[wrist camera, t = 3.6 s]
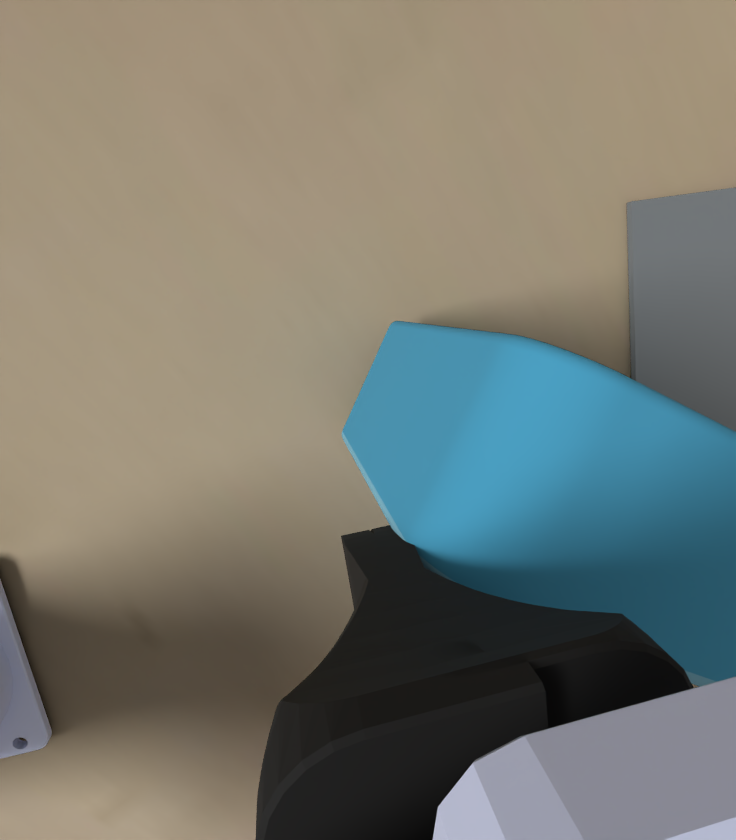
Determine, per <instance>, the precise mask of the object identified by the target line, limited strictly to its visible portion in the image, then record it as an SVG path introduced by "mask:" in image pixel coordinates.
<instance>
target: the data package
mask: <svg viewBox="0 0 736 840" xmlns="http://www.w3.org/2000/svg"><path fill="white" fill-rule="evenodd" d="M342 438H343V440H344V442H345V444H346V446H347V447H348V449H349V451H350V453H351V455H352V456H353V458H354V460H355V462H356V464H357V466H358V467H359V469H360V471H361V473H362V475H363V477H364V478H365V480H366V482H367V484H368V486H369V488H370V489H371V491H372V493H373V495H374V497H375V499H376V500H377V502H378V504H379V506H380V508H381V510H382V511H383V513H384V515H385V517H386V519H387V521H388V522H389V524H390V526H391V528H392V529H393V530H394V532H395V533H397V534H398V535H399V536H400V537H401V538H402V539H403V540H404V541H406V542H408V543H411V544H413V545H415V547H416V550H417V552H418V554H419V556H420V559H421V561H422V563H423V565H424V568H426V569H428V570H430V571H432V572H434V573H436V574H438V575H440V576H442V577H444V578H446V579H449V580H451V581H453V582H456V583H459V584H461V585H464V586H466V587H469V588H471V589H474V590H477V591H480V592H484V593H487V594H490V595H494V596H498V597H502V598H505V599H509V600H513V601H517V602H522V603H527V604H532V605H538V606H545V607H551V608H558V609H565V610H577V611H592V612H607V613H621V614H623V615H624V616H625V617H627V618H628V619H629V620H631V621H632V622H633V623H634V624H636V625H637V626H638V627H639V628H640V629H642V630H643V631H644V632H645V633H646V634H648V635H649V636H650V637H651V638H652V639H653V640H654V641H655V642H656V643H657V644H658V645H659V646H660V647H661V648H662V649H663V650H664V651H666V652H667V653H668V654H669V655H670V656H671V657H672V658H673V659H674V660H675V661H676V662H677V663H678V664H679V665H680V666H681V667H682V668H684V670H685V672H686V674H687V676H688V678H689V680H690V682H691V683H692V684H694V685H697V686H703V685H707V684H710V683H714V682H717V681H721V680H725V679H728V678H732V677H736V431H734V430H732V429H730V428H728V427H726V426H724V425H722V424H720V423H718V422H716V421H714V420H712V419H710V418H708V417H706V416H704V415H702V414H700V413H698V412H696V411H694V410H692V409H690V408H688V407H686V406H684V405H682V404H680V403H679V402H677V401H675V400H673V399H671V398H669V397H667V396H665V395H663V394H661V393H659V392H657V391H655V390H653V389H651V388H649V387H647V386H645V385H643V384H641V383H639V382H637V381H635V380H633V379H631V378H629V377H627V376H625V375H623V374H621V373H619V372H617V371H615V370H613V369H611V368H608V367H606V366H604V365H602V364H599V363H597V362H595V361H592V360H590V359H588V358H585V357H583V356H580V355H578V354H575V353H572V352H570V351H567V350H564V349H562V348H559V347H556V346H553V345H550V344H547V343H544V342H541V341H538V340H534V339H531V338H527V337H523V336H518V335H512V334H504V333H496V332H487V331H479V330H470V329H462V328H454V327H445V326H437V325H428V324H420V323H411V322H403V321H395V322H393V323H392V324H391V325H390V326H389V329H388V331H387V333H386V335H385V337H384V340H383V342H382V344H381V346H380V349H379V351H378V353H377V355H376V357H375V360H374V362H373V364H372V366H371V369H370V371H369V373H368V375H367V377H366V380H365V382H364V384H363V386H362V389H361V391H360V393H359V395H358V398H357V400H356V402H355V404H354V406H353V409H352V411H351V413H350V415H349V418H348V420H347V422H346V424H345V426H344V429H343V431H342Z"/></svg>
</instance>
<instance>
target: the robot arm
mask: <svg viewBox="0 0 736 840" xmlns="http://www.w3.org/2000/svg"><path fill="white" fill-rule="evenodd" d="M341 537H342V543H343V549H344V554H345V560H346V565H347V571H348V577H349V582H350V588H351V593H352V599H353V605H354V612H353V614H352V616H351V618H350V620H349V622H348V624H347V625H346V627H345V629H344V631H343V632H342V634H341V636H340V638H339V639H338V641H337V642H336V644H335V645H334V647H333V648H332V650H331V651H330V652H329V653H328V655H327V656H326V657H325V658H324V660H323V661H322V662H321V663H320V665H319V666H318V667H317V668H316V669H315V670H314V671H313V672H312V673H311V674H310V675H309V676H308V677H307V678H306V679H305V680H303V681H302V682H301V683H300V684H299V685H298V686H297V687H296V688H295V689H294V690H292V691H291V692H290V693H289V694H288V695H287V696H286V697H284V698H283V699H282V700H281V701H280V702H279V704H278V706H277V709H276V712H275V715H274V719H273V722H272V726H271V729H270V733H269V737H268V741H267V745H266V750H265V754H264V759H263V764H262V770H261V776H260V782H259V789H258V798H257V819H256V840H736V677H732V678H728V679H725V680H721V681H717V682H714V683H710V684H707V685H703V686H699V687H696V688H693V686H692V684H691V682H690V680H689V678H688V676H687V674H686V672H685V670H684V668H682V667H681V666H680V665H679V664H678V663H677V662H676V661H675V660H674V659H673V658H672V657H671V656H670V655H669V654H668V653H667V652H666V651H664V650H663V649H662V648H661V647H660V646H659V645H658V644H657V643H656V642H655V641H654V640H653V639H652V638H651V637H650V636H649V635H648V634H646V633H645V632H644V631H643V630H642V629H640V628H639V627H638V626H637V625H636V624H634V623H633V622H632V621H631V620H629V619H628V618H627V617H625V616H624V615H623V614H621V613H607V612H592V611H577V610H565V609H558V608H551V607H545V606H538V605H532V604H527V603H522V602H517V601H513V600H509V599H505V598H502V597H498V596H494V595H490V594H487V593H484V592H480V591H477V590H474V589H471V588H469V587H466V586H464V585H461V584H459V583H456V582H453V581H451V580H449V579H446V578H444V577H442V576H440V575H438V574H436V573H434V572H432V571H430V570H428V569H426V568H424V565H423V563H422V561H421V559H420V556H419V554H418V552H417V550H416V547H415V545H413V544H411V543H408V542H406V541H404V540H403V539H402V538H401V537H400V536H399V535H398V534H397V533H395V532H394V530H393V529H392V528H391V526H390V525H389V526H385V527H380V528H376V529H372V530H371V531H369V530H366V531H362V532H357V533H352V534H348V535H343V536H341ZM51 735H52V730H51V727H50V724H49V721H48V718H47V715H46V712H45V709H44V706H43V703H42V700H41V698H40V695H39V692H38V689H37V686H36V683H35V680H34V677H33V674H32V671H31V668H30V665H29V662H28V659H27V656H26V653H25V650H24V647H23V644H22V641H21V639H20V636H19V633H18V630H17V627H16V624H15V621H14V618H13V615H12V612H11V609H10V606H9V603H8V600H7V597H6V594H5V591H4V588H3V585H2V583H1V580H0V759H1V758H6V757H10V756H14V755H18V754H23V753H27V752H31V751H35V750H39V749H41V748H44V747H45V746H46V745H47V743H48V741H49V739H50V737H51ZM21 737H22V738H24V739H26V740H27V741H22V740H20V739H19V738H21Z"/></svg>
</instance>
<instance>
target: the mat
mask: <svg viewBox="0 0 736 840" xmlns="http://www.w3.org/2000/svg"><path fill="white" fill-rule="evenodd" d="M627 233H628V271H629V309H630V347H631V379H633V380H635V381H637V382H639V383H641V384H643V385H645V386H647V387H649V388H651V389H653V390H655V391H657V392H659V393H661V394H663V395H665V396H667V397H669V398H671V399H673V400H675V401H677V402H679V403H680V404H682V405H684V406H686V407H688V408H690V409H692V410H694V411H696V412H698V413H700V414H702V415H704V416H706V417H708V418H710V419H712V420H714V421H716V422H718V423H720V424H722V425H724V426H726V427H728V428H730V429H732V430H734V431H736V188H729V189H721V190H714V191H706V192H699V193H691V194H684V195H677V196H669V197H662V198H654V199H647V200H640V201H632V202H628V203H627Z"/></svg>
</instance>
